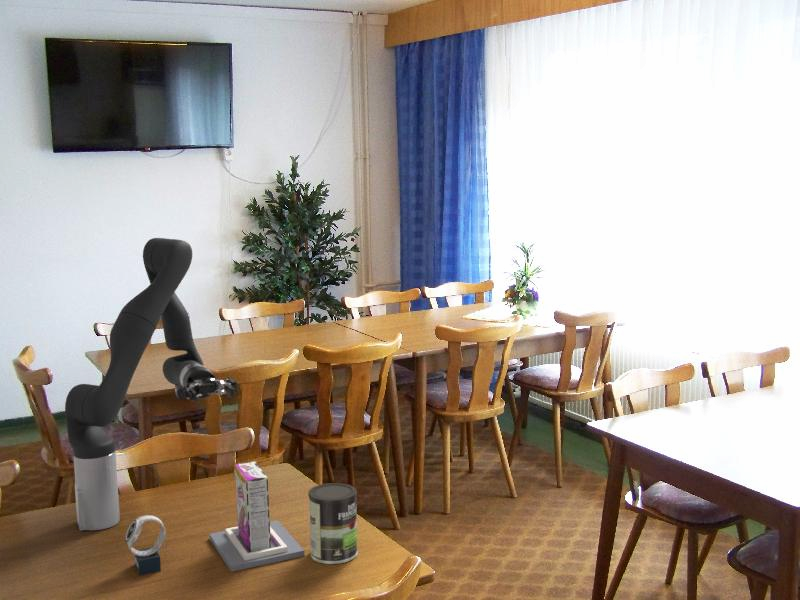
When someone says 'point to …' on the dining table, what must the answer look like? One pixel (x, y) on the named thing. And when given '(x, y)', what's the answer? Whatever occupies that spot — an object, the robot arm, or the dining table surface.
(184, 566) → the dining table surface
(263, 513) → the candy bar box
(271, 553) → the collar plate
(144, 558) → the watch
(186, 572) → the dining table surface
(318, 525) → the coffee can
